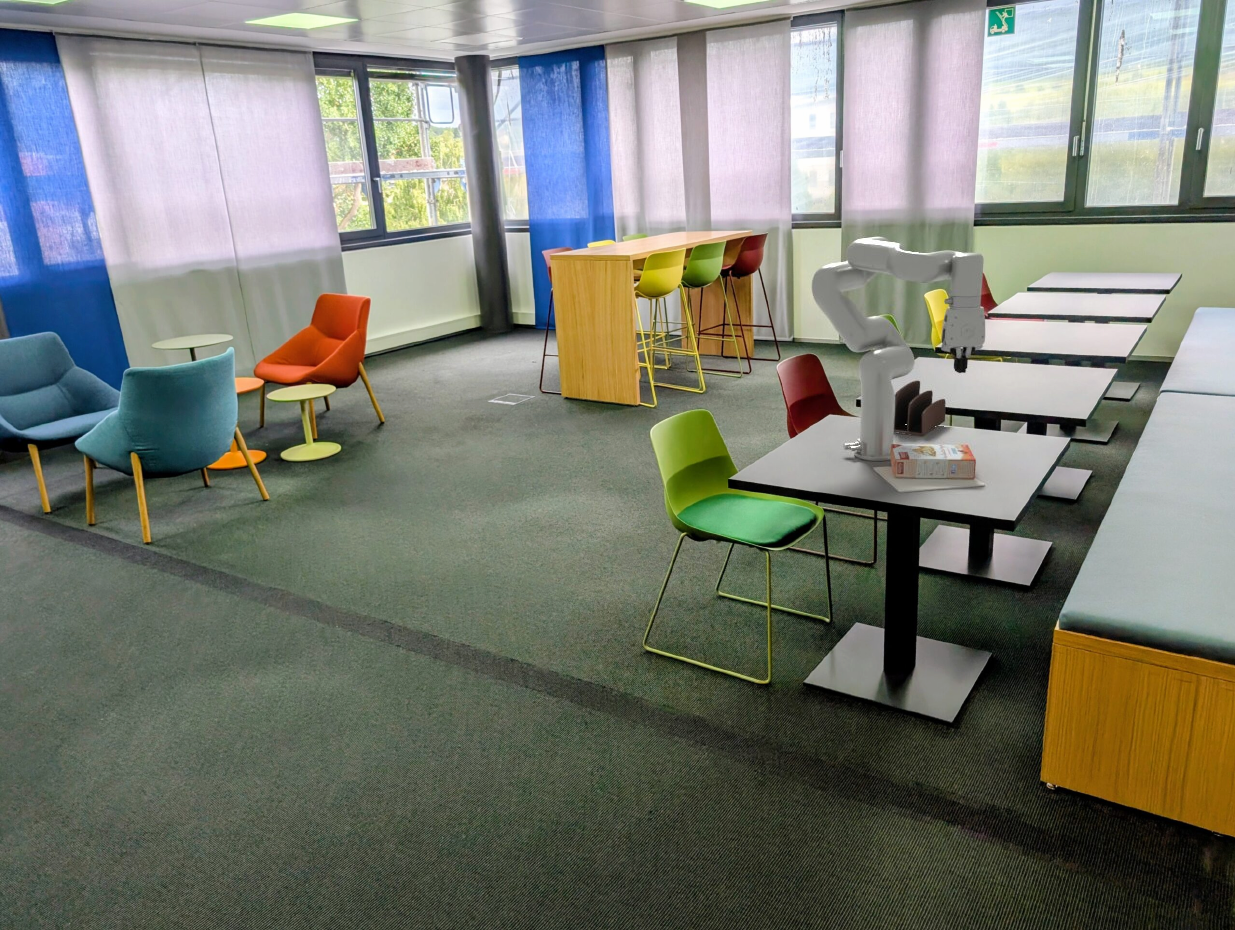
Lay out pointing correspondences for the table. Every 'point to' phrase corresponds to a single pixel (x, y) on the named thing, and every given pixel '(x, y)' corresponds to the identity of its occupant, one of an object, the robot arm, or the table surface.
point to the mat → (924, 482)
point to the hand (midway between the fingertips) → (960, 371)
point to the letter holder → (917, 410)
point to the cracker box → (932, 461)
